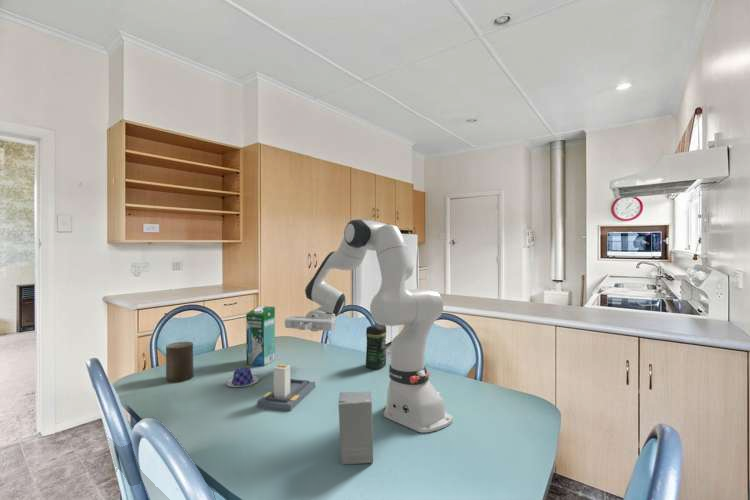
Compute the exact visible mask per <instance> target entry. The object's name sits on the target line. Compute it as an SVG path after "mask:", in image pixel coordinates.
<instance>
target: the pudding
mask: <svg viewBox="0 0 750 500" xmlns="http://www.w3.org/2000/svg"><path fill="white" fill-rule="evenodd" d="M259 380H260V379H259V377H258V376H256V375H253V373H252V370H251V368H250V367H239V368H237V369H235V371H234V372H233V377H232V378H229V380H227V381H226V383H225V385H227V386H229V387H233V388H243V387H248V386H252V385H254V384H257V383H258V382H259Z"/></svg>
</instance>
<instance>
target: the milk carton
mask: <svg viewBox="0 0 750 500" xmlns="http://www.w3.org/2000/svg"><path fill="white" fill-rule="evenodd" d="M275 310H276V308H275V306H267V305H266V306H265V305H264V306H263V305H257V306H256V307H255V308H252V309H251V310H250V311H249V312H247V313H246V318H245V320H246V322H245V324H246V325H245V326H246V327H245V328H246V329H245V330H246V333H245V334H246V335H245V336H246V337H245V338H246V339H245V340H246V345H245V346H246V365H251V366H260V367H265V366H266V365H268V364H270V363H272V362H274V361H275V360H276V346H275V345H276V338H275V337H276V336H275V335H276V331H275V330H276V326H275V325H276V324H275V323H276V321H275V320H276V319H275V318H276V314H275V313H276V311H275Z"/></svg>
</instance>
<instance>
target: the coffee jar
mask: <svg viewBox="0 0 750 500" xmlns="http://www.w3.org/2000/svg"><path fill="white" fill-rule="evenodd" d="M365 332H366V333H365V337H366V350H365V351H366V353H365V354H366V355H365V367H367V368H368V369H371V370H375V369H376V370H377V369H378V370H379V369H381V368H384V367H385V366H386V364H387V354H386V352H387V348H386V347H387V345H386V343H387V340H386V339H387V325H379V324H377V323H376V322H375V323H374V324H373V325H372V324H371V325H370V326H369V325H368V326H367V327H366V331H365Z"/></svg>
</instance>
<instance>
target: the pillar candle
mask: <svg viewBox="0 0 750 500" xmlns="http://www.w3.org/2000/svg"><path fill="white" fill-rule="evenodd" d="M165 349H166V350H165V357H166V358H165V379H166V380H165V381H167V382H168V383H182V382H185V381H189V380H191V379H193V377H194V342H192V341H178V342H172V343H169V344H166V346H165Z"/></svg>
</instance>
